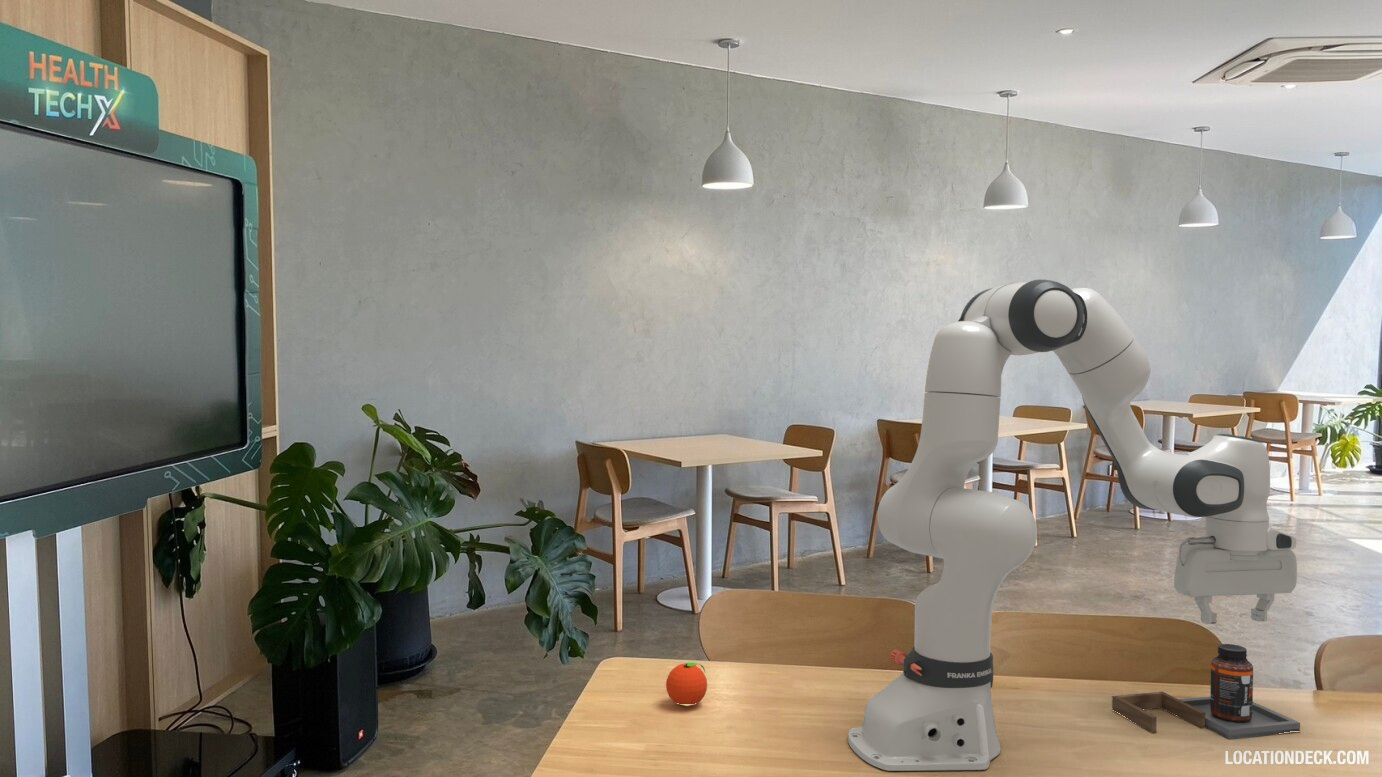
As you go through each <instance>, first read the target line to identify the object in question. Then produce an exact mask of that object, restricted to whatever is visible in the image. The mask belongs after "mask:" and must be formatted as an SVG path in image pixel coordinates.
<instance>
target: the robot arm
mask: <svg viewBox="0 0 1382 777" xmlns="http://www.w3.org/2000/svg"><path fill="white" fill-rule="evenodd" d="M1048 352H1053V353H1054V354H1055V355H1056V356H1057V357H1058V359H1059V361H1060V362H1061V364H1062V366H1063V367H1064V368H1065V370H1066V372H1067V373H1068V374H1069V377H1070V378H1071V379H1072V381H1073V382H1074V384H1075V385H1076V387H1077V389H1078V390H1079V393H1080V394H1081V398H1082V401H1083V405H1084V407H1085V409H1086V411H1087V414H1088V415H1089V416H1088V417H1089V418H1090V420H1091V421H1092V423H1093V425H1094V427H1095V429H1096V431H1097V432H1098V434H1099V436H1100V438H1101V440H1102V442H1103V444H1104V445H1105V448H1106V449H1107V451H1108V452H1109V455H1110V456H1111V458H1112V460H1113V462H1114V465H1115V469H1116V472H1117V478H1118V479H1117V480H1118V483H1119V487H1120V490H1121V491H1122V494H1123V495H1124V497H1125V498H1126V499H1127V501H1129V503H1130V504H1132V505H1133V506H1135V507H1137V508H1139V509H1142V510H1148V511H1149V510H1150V511H1158V512H1159V511H1160V512H1163V513H1170V514H1174V515H1178V516H1179V515H1180V516H1184V517H1187V518H1189V517H1190V518H1204V517H1205V527H1204V528H1205V529H1204V531H1205V532H1204V533H1205V534H1204V536H1201V537H1195V536H1190V537H1187V538H1186V539H1185V540H1183V541H1182V542H1181V544H1180V545H1179V547H1178V556H1177V559H1176V564H1175V571H1174V580H1173V587H1174V589H1175V591H1176V592H1177V593H1179V594H1180V595H1183V596H1187V597H1190V598H1194V602H1195V604H1196V605H1197V608H1198V609H1199V611H1200V622H1201V623H1203V624H1206V625H1213V624H1216V623H1217V614H1218V612H1214V611H1213V610H1212V609H1211V606H1210V604H1212V602H1213V597H1223V596H1224V597H1227V596H1229V597H1230V596H1247V595H1249V596H1250V595H1251V596H1252V595H1256V598H1258V600H1257V602H1256V605H1255V607H1254V608H1250V619H1251V620H1252V621H1255V622H1257V623H1258V622H1266V621H1268V611H1269V610H1270V609H1271V606H1272V605H1273V604H1274V601H1275V595H1281V594H1291V593H1293V591H1294V589H1295V588H1296V587H1297V579H1298V577H1297V576H1298V565H1297V564H1298V562H1297V557H1296V553H1295V552H1294V551H1293V550H1294V549H1296V547H1297V538H1296V536H1294V535H1292V534H1290V533H1285V532H1283V531H1280V530H1278V529H1275V528H1273V527H1270V516H1269V513H1268V507H1267V503H1268V499H1269V497H1270V493H1271V467H1270V466H1271V465H1270V458H1269V454H1268V449H1267V447H1266V445H1265V443H1263V442H1262V441H1260V440H1259V439H1255V438H1252V437H1248V436H1242V435H1235V434H1230V433H1229V434H1227V433H1226V434H1225V433H1219V434H1215V435H1213V436H1212V438H1211V440H1210V441H1208V442H1207V443H1206V444H1204V445H1203V446H1201V447H1199V448H1197V449H1195V450H1193V451H1191V452H1187V453H1186V454H1180V453H1174V452H1173V453H1172V452H1167V451H1165V450H1162V449H1160V448H1158V447H1157V446H1155V445H1154V444H1152V443H1151V442H1150V441H1149V439H1148V438H1147V436H1146V434H1145V432H1144V430H1143V428H1142V427H1141V425H1140V423H1139V420H1138V418H1137V417H1136V416H1135V414H1134V411H1133V409H1132V406H1131V401H1133V400H1134V399H1135V398H1137V396H1139V395H1140V394H1141V393H1142V392H1143V390H1144V389H1146V386H1147V384H1148V382H1149V380H1150V375H1151V365H1150V361H1149V359H1148V357H1147V353H1146V352H1145V350H1144V348H1143V347H1142V345H1141V344H1140V342H1139V340H1138V339H1137V337H1136V336H1135V334H1134V333H1133V332H1132V330H1131V328H1130V327H1129V326H1128V325H1127V323H1126V321H1125V320H1124V319H1123V318H1122V316H1121V315H1120V314H1119V313H1118V312H1117V311H1116V309H1115V307H1113V306H1112V305H1111V304H1110V303H1109V302H1108V301H1107V300H1106V299H1105V298H1104V297H1103V296H1102V295H1101V294H1100V293H1099V292H1098V291H1096V290H1095V289H1092V288H1090V287H1074V288H1070V287H1068V286H1066V285H1065V284H1064V283H1060V282H1059V281H1058V282H1057V281H1055V280H1051V279H1033V280H1031V281H1021V282H1018V281H1014V282H1008V283H1004V284H1002V285H998V286H996V287H992V288H988V289H985V290H982V291H980V292H978V293H977V294H975V295H974V296H973V297H971V299H970V300H969V301H968V302H967V303H966V305H965V306H964V307H963V309H962V313H961V315H960V317H959V319H958V320H957V321H955V322H952V323H949V324H946V325H945V326H943V327H942V328H940V329H939V330H938V332H937V333H936V335H935V338H934V340H933V343H932V347H931V351H930V356H929V360H928V365H927V371H926V377H925V387H924V392H925V393H924V396H923V397H924V399H923V409H922V410H923V411H922V420H921V428H920V434H919V435H920V437H919V442H918V446H917V449H916V452H915V454H914V457H913V459H912V461H911V463H910V465H909V467H908V469H907V470H906V472H905V473H904V475H903V476H902V477H901V478H900V479H899V481H897V482H896V483H894V485H892V486H891V487H890V488H889V489H887V490H886V491H885V493H884V494H883V495H882V497H881V500H880V501H879V504H878V507H877V516H876V518H877V519H876V520H877V526H878V529H879V531H880V533H881V535H882V537H883V538H884V539H885V540H886V541H888V542H889V543H891V544H893V545H895V546H897V547H899V548H901V549H902V550H905V551H907V552H910V553H911V554H912V553H913V554H918V555H923V556H928V557H933V558H936V559H941V560H943V569H942V574H941V577H940V580H939V581H938V582H936V583H934V584H931V585H929V586H927V587H926V588H924V589H923V590H922V591H921V592H920V593H919V595H918V596H917V597H916V600H915V602H914V641H913V642H914V644H913V647H912V648H911V650H910V652H908V654H907V653H906V652H903V651H902V650H901V649H899V648H895V649H893V650H892V651H891V653H890V659H891V660H892V662H894V663H896V665H898V666H903V670H902V673H901V674H899V676H898V677H896V678H895V679H894V680H892V681H891V682H890V683H888V685H886V686H885V687H884V688H882V689H881V690H880V691H878V692H877V693H876V694H874V695H873V696H872V697H870V698H869V700H868V701H867V703H866V706H865V709H864V715H863V719H862V726H856V727H852V728H850V729H849V730H848V735H847V742H848V745H849V746H850V748H851V749H852V751H854V753H855V755H857V756H858V757H860V758H861V759H862V760H863V761H865V762H866V763H868V764H869V765H871V766H874V767H876V768H879V769H881V770H883V771H887V772H888V771H889V772H891V771H892V772H894V771H897V772H899V771H900V772H901V771H902V772H904V771H908V772H909V771H914V772H915V771H976V770H977V771H982V770H987V769H989V767H990V764H991V761H992V760H993V759H995V758H996V757H997V756H999V755H1000V753H1001V750H1002V747H1001V743H1000V740H999V736H998V733H997V728H996V723H995V718H994V716H995V715H994V710H993V699H992V688H993V684H994V655H993V653H992V652H991V634H992V620H993V619H992V618H993V616H992V615H993V607H994V602H995V599H996V596H997V593H998V592H999V589H1000V586H1001V585H1002V582H1003V581H1004V580H1005V579H1006V577H1007V576H1008V575H1009V574H1010V573H1011V572H1012V571H1014V570H1015V569H1016V568H1018V567H1020V566H1021V565H1023V564H1024V563H1025V562H1026V561H1027V560H1028V559H1029V558H1030V556H1031V555H1032V553H1033V552H1034V549H1035V546H1036V544H1037V540H1038V539H1037V538H1038V528H1037V526H1038V525H1037V522H1036V519H1035V516H1034V514H1033V512H1032V510H1031V508H1030V507H1029V506H1028V505H1027V504H1026V503H1024V502H1022V501H1020V500H1017V499H1014V498H1012V497H1010V496H1008V495H1007V496H1006V495H1004V494H1002V493H998V492H996V491H995V492H994V491H986V490H982V489H981V490H980V489H972V488H965V485H966V484H965V483H966V480H967V478H968V475H969V472H970V471H971V469H973V467H974V466H975V465H976V464H977V463H979V462H981V461H983V460H986V458H988V457H990V456H991V455H992V454H993V453H994V451H995V449H997V445H998V442H999V428H1000V427H999V426H1000V425H999V424H1000V414H1001V413H1000V412H1001V411H1000V410H1001V400H1002V399H1001V396H1002V374H1003V371H1004V367H1005V365H1006V363H1007V361H1008V359H1009V358H1010V356H1011V355H1012V356H1025V355H1026V356H1027V355H1033V354H1037V353H1048Z"/></svg>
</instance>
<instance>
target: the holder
mask: <svg viewBox="0 0 1382 777" xmlns="http://www.w3.org/2000/svg"><path fill="white" fill-rule="evenodd" d="M1111 698H1112V700H1111V701H1112V705H1111V706H1112V707H1111V711H1112V710H1114V711H1116V712H1118V713H1120V714H1121V715H1123V716H1125V717H1126V718H1128V719H1129V720H1131V721H1132V722H1131V721H1130V722H1131V723H1133V722H1134V723H1133V724H1135V723H1136V724H1135V725H1137V726H1138V725H1139V726H1138V727H1140V726H1141V727H1140V728H1142V729H1144V730H1146V731H1147V732H1149V733H1151V734H1157V732H1158V731H1157V727H1158V725H1157V724H1158V717H1157V716H1156V715H1154V714H1152V713H1151V712H1148V711H1147V710H1143V709H1150V710H1152V709H1151V708H1161V709H1162V708H1163V709H1162V710H1164V709H1165V710H1164V711H1166V710H1167V711H1166V712H1168V711H1169V712H1168V713H1170V712H1171V713H1170V714H1172V713H1173V714H1172V715H1174V714H1175V715H1177V716H1178V717H1177V716H1176V717H1177V718H1179V717H1180V718H1179V719H1181V718H1182V719H1181V720H1183V719H1184V720H1183V721H1185V722H1188V723H1189V724H1191V725H1193V726H1195V727H1197V728H1199V729H1206V728H1205V712H1204V711H1202V710H1199V709H1197V708H1195V707H1193V706H1191V705H1189V704H1187V703H1185V702H1183V701H1181V700H1179V699H1180V698H1178V697H1174V696H1172V695H1170V694H1169V693H1166V692H1165V691H1156V692H1155V691H1154V692H1143V693H1132V694H1122V695H1121V694H1119V695H1112V696H1111ZM1175 715H1174V716H1175ZM1126 718H1125V719H1126ZM1128 719H1127V720H1128ZM1129 720H1128V721H1129Z"/></svg>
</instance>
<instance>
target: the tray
mask: <svg viewBox="0 0 1382 777" xmlns="http://www.w3.org/2000/svg"><path fill="white" fill-rule="evenodd" d="M1178 699H1179V700H1181V701H1183V702H1185V703H1187V704H1189V705H1191V706H1193V707H1195V708H1197V709H1199V710H1202V711H1204V712H1205V728H1204V729H1207V730H1209V731H1212V732H1213V733H1215V734H1217V735H1219V736H1221V737H1223V738H1225V739H1227V740H1238V739H1248V738H1256V737H1257V738H1259V737H1265V736H1266V737H1268V736H1276V735H1275V734H1278V735H1280V734H1279V733H1284V732H1290V731H1300V732H1301V722H1299V721H1297V720H1295V719H1293V718H1290V717H1288V716H1286V715H1283V714H1282V713H1279V712H1276V711H1274V710H1272V709H1271V708H1268V707H1266V706H1263V705H1261V704H1259V703H1256V702H1254V701H1253V707H1252V718H1251V719H1250V720H1249V721H1246V722H1234V721H1228V720H1223V719H1220V718H1218V717H1216V716H1215V715H1213V714H1212V713H1211V709H1210V708H1211V707H1210V696H1200V697H1191V698H1190V697H1188V698H1187V697H1186V698H1178Z"/></svg>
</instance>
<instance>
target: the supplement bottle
mask: <svg viewBox="0 0 1382 777" xmlns="http://www.w3.org/2000/svg"><path fill="white" fill-rule="evenodd" d="M1217 649H1218V650H1217V653H1218V655H1216V656H1215V657H1214V658H1212V660H1211V661H1210V662H1211V663H1210V707H1211V708H1210V709H1211V713H1212V714H1213V715H1215V716H1216V717H1218V718H1220V719H1223V720H1228V721H1234V722H1246V721H1249V720H1250V719H1251V718H1252V707H1253V702H1254V701H1253V700H1254V699H1253V697H1254V696H1253V695H1254V666H1253V665H1252V663H1251V662H1250V661H1249V660H1248V658H1247V657H1248V653H1247V648H1246V647H1245V646H1241V645H1239V644H1233V643H1220V644H1218V645H1217Z"/></svg>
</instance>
